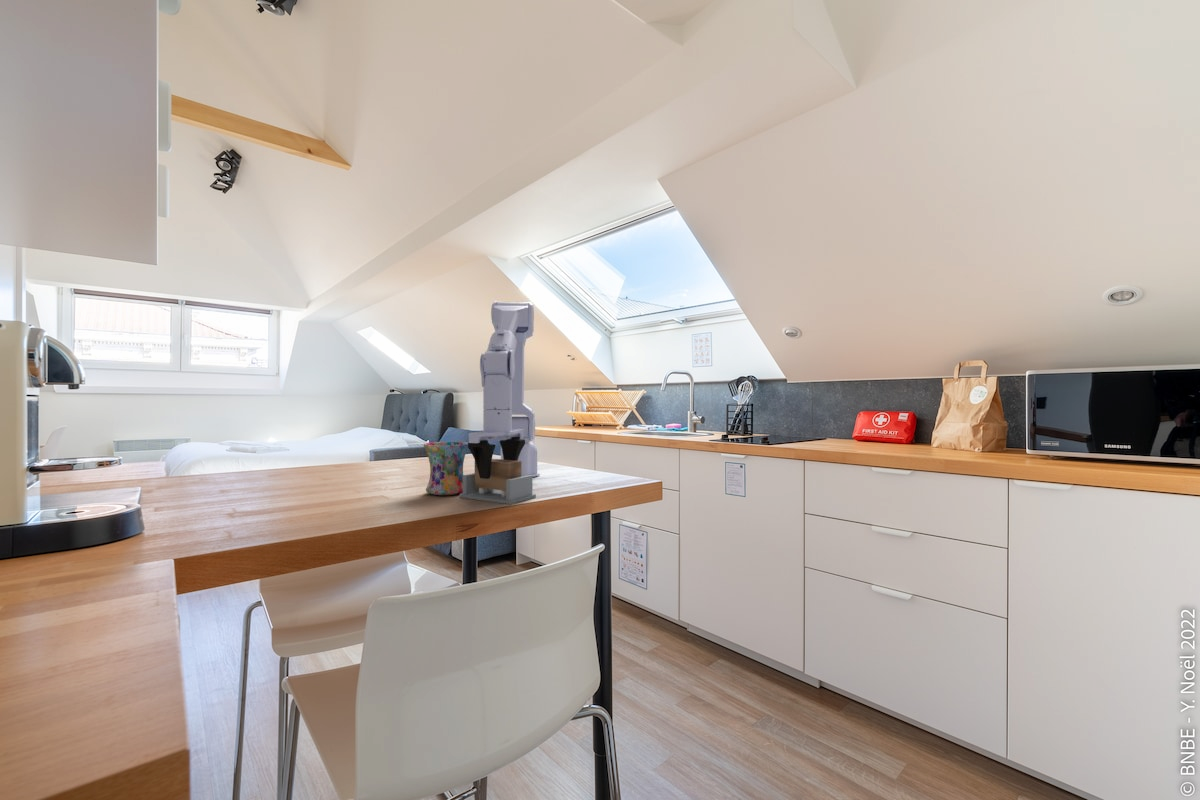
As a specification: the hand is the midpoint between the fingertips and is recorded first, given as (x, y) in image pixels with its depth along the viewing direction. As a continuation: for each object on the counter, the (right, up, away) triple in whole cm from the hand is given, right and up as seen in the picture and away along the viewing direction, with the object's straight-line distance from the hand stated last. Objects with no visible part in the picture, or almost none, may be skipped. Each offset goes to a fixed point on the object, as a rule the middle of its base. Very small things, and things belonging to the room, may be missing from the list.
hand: (497, 475), depth 106 cm
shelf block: (0, -2, 0) cm, 2 cm away
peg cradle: (0, -4, 0) cm, 4 cm away
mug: (-12, -5, +6) cm, 14 cm away
